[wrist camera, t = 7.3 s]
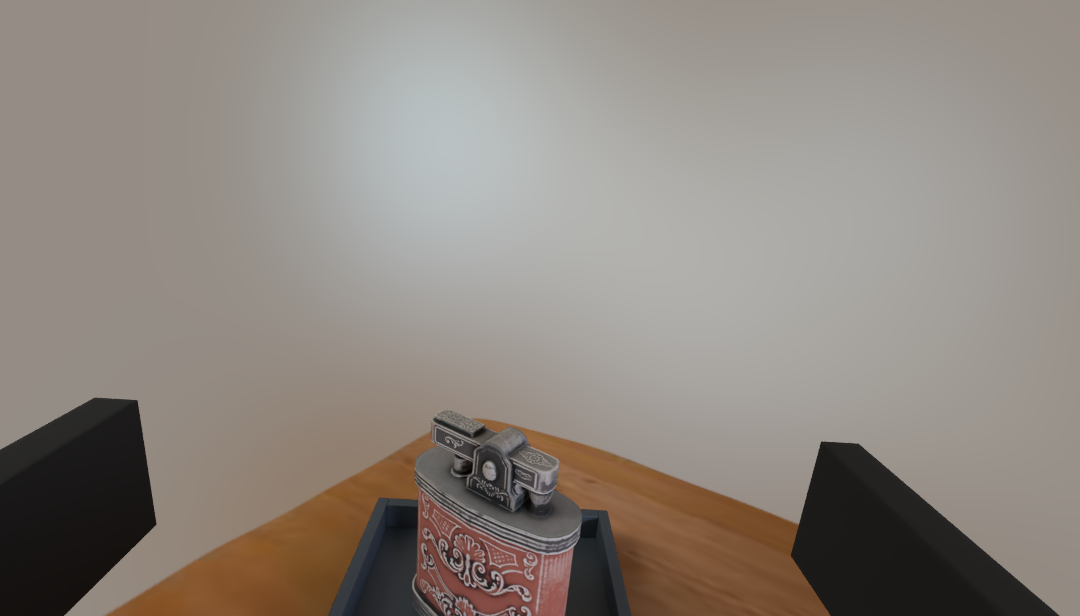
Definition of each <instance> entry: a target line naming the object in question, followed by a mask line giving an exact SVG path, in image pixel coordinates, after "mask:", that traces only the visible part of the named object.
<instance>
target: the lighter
mask: <svg viewBox="0 0 1080 616" xmlns="http://www.w3.org/2000/svg"><path fill="white" fill-rule="evenodd" d="M431 441H432V442H433V443H435V444H437V445H439V446H438V447H433V448H431V449H428V450H426V451H424V452H423V453H422V454H420V455H419V456H418V457H417V459H416V461H415V483H416V484H417V486H418V487H419V495H418V537H417V573H416V574H415V577H414V579H413V581H412V604H413V606H414V608H415V609H416V610H417V612H418V613H419V614H420V615H421V616H565V611H566V603H567V595H568V588H569V580H570V572H571V564H572V557H573V549H574V545H575V544H576V543H577V541H578V539H579V537H580V530H581V523H582V513H581V510H580V508H579V506H578V505H576V504H575V503H574V502H573V501H572V500H570V499H569V498H567V497H566V496H564V495H563V494H561V493H560V492H558V491H557V490H555V489H554V488H555V487H556V485H557V477H558V468H559V461H558V460H557V459H556V458H555V457H553V456H551V455H548V454H546V453H544V452H541V451H539V450H537V449H534V448H532V447H531V446H530V444H529V443H528V441H527V438H526V436H525V435H524V434H523V433H522V432H521V431H520V430H518V429H516V428H513V427H507V428H506V429H504V430H502V431H501V432H499V433H498V432H495V431H493V430H491V429H489V428H486V427H485V424H482V423H480V422H478V421H475V420H473V419H471V418H468V417H466V416H464V415H461V414H459V413H457V412H454V411H452V410H448V409H447V410H443V411H441V412H439V413H437V414H436V416H434V417H433V418H432V420H431Z"/></svg>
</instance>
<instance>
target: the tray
mask: <svg viewBox="0 0 1080 616" xmlns="http://www.w3.org/2000/svg"><path fill="white" fill-rule="evenodd" d="M580 510H581V513H582V523H581V530H580V537H579V539H578V541H577V543H576V544H575V545H574V549H573V557H572V564H571V572H570V580H569V588H568V595H567V603H566V611H565V616H631V613H630V608H629V604H628V599H627V595H626V591H625V586H624V582H623V578H622V573H621V569H620V564H619V560H618V556H617V551H616V547H615V543H614V538H613V534H612V530H611V525H610V521H609V516H608V512H607V511H602V510H598V511H597V510H587V509H580ZM417 537H418V500H410V499H392V498H390V499H389V498H379V499H378V501H377V504H376V506H375V508H374V511H373V513H372V515H371V517H370V520H369V522H368V524H367V527H366V529H365V531H364V534H363V536H362V538H361V541H360V543H359V545H358V548H357V550H356V552H355V554H354V557H353V559H352V561H351V564H350V566H349V568H348V571H347V573H346V575H345V578H344V580H343V582H342V585H341V587H340V589H339V591H338V594H337V596H336V598H335V601H334V603H333V605H332V608H331V610H330V612H329V615H328V616H421V615H420V614H419V613H418V612H417V610H416V609H415V608H414V606H413V604H412V581H413V579H414V577H415V574H416V573H417Z"/></svg>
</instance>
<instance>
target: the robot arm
mask: <svg viewBox="0 0 1080 616" xmlns="http://www.w3.org/2000/svg"><path fill="white" fill-rule="evenodd" d="M155 525H156V519H155V512H154V506H153V499H152V492H151V486H150V479H149V473H148V467H147V460H146V454H145V446H144V440H143V433H142V427H141V421H140V414H139V407H138V401H137V400H124V399H108V398H107V399H106V398H93V399H92V400H90V401H88V402H86V403H84V404H82V405H81V406H79V407H77V408H75V409H73V410H72V411H70V412H68V413H66V414H64V415H62V416H61V417H59V418H57V419H55V420H54V421H52V422H50V423H48V424H46V425H45V426H43V427H41V428H39V429H37V430H35V431H34V432H32V433H30V434H28V435H26V436H24V437H23V438H21V439H19V440H17V441H15V442H14V443H12V444H10V445H8V446H6V447H5V448H3V449H1V450H0V616H64V615H65V614H66V613H67V612H68V611H69V610H70V609H71V608H72V607H73V606H74V605H75V604H76V603H77V602H78V601H79V600H80V599H81V598H82V597H83V596H85V594H87V593H88V592H89V591H90V589H92V588H93V587H94V586H95V585H96V584H97V583H98V582H99V581H100V580H101V579H102V578H103V577H104V576H105V575H106V574H107V573H108V572H109V571H110V570H111V569H112V568H113V567H114V566H115V565H116V564H117V563H118V562H119V561H120V560H121V559H122V558H123V557H124V556H125V555H126V554H127V553H128V552H129V551H130V550H131V549H132V548H133V547H134V546H135V545H136V544H137V543H138V542H139V541H140V540H141V539H142V538H143V537H144V536H145V535H146V534H147V533H148V532H149V531H150V530H151V529H152V528H153V527H154V526H155ZM791 557H792V558H793V560H794V561H795V563H796V564H797V566H798V567H799V569H800V570H801V572H802V573H803V575H804V576H805V578H806V579H807V581H808V582H809V584H810V585H811V587H812V588H813V590H814V591H815V593H816V594H817V596H818V597H819V599H820V600H821V602H822V603H823V605H824V606H825V608H826V609H827V611H828V612H829V614H830V615H831V616H1059V615H1058V614H1057V613H1056V612H1055V611H1053V610H1052V609H1051V608H1050V607H1049V606H1048V605H1046V604H1045V603H1044V602H1043V601H1042V600H1041V599H1039V598H1038V597H1037V596H1036V595H1035V594H1033V593H1032V592H1031V591H1030V590H1029V589H1028V588H1027V587H1025V586H1024V585H1023V584H1022V583H1020V581H1018V580H1017V579H1016V578H1015V577H1014V576H1012V575H1011V574H1010V573H1009V572H1008V571H1006V570H1005V569H1004V568H1003V567H1002V566H1001V565H1000V564H998V563H997V562H996V561H995V560H994V559H993V558H991V557H990V556H989V555H988V554H987V553H986V552H984V551H983V550H982V549H981V548H980V547H979V546H977V545H976V544H975V543H974V542H973V541H972V540H970V539H969V538H968V537H967V536H966V535H965V534H963V533H962V532H961V531H960V530H959V529H958V528H956V527H955V526H954V525H953V524H951V522H949V521H948V520H947V519H946V518H945V517H943V516H942V515H941V514H940V513H939V512H938V511H936V510H935V509H934V508H933V507H932V506H931V505H929V504H928V503H927V502H926V501H925V500H923V499H922V498H921V497H920V496H919V495H918V494H917V493H915V492H914V491H913V490H912V489H911V488H910V487H908V486H907V485H906V484H905V483H904V482H903V481H901V480H900V479H899V478H898V477H897V476H895V475H894V474H893V473H892V472H891V471H890V470H889V469H887V468H886V467H885V466H884V465H883V464H882V463H880V462H879V461H878V460H877V459H876V458H874V457H873V456H872V455H871V454H870V453H868V452H867V451H866V450H865V449H864V448H863V447H862V446H860V445H859V444H854V443H837V442H821V444H820V449H819V452H818V456H817V459H816V463H815V467H814V470H813V474H812V478H811V482H810V485H809V489H808V493H807V497H806V500H805V505H804V508H803V512H802V515H801V519H800V523H799V527H798V530H797V534H796V538H795V542H794V546H793V549H792V553H791Z"/></svg>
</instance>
